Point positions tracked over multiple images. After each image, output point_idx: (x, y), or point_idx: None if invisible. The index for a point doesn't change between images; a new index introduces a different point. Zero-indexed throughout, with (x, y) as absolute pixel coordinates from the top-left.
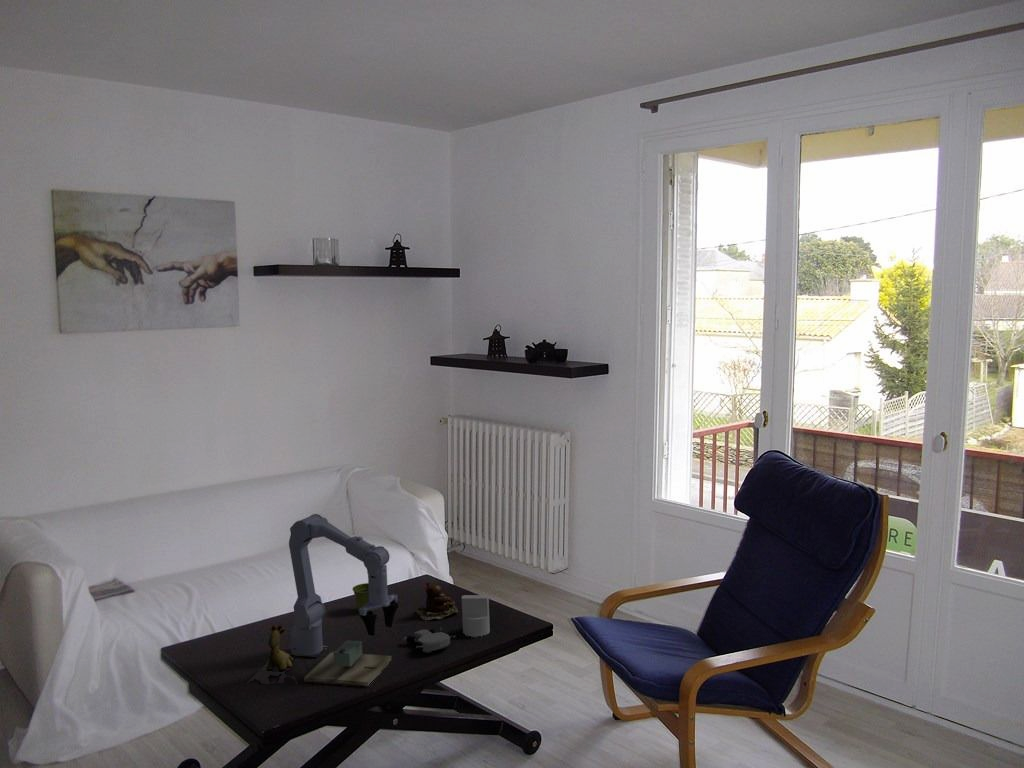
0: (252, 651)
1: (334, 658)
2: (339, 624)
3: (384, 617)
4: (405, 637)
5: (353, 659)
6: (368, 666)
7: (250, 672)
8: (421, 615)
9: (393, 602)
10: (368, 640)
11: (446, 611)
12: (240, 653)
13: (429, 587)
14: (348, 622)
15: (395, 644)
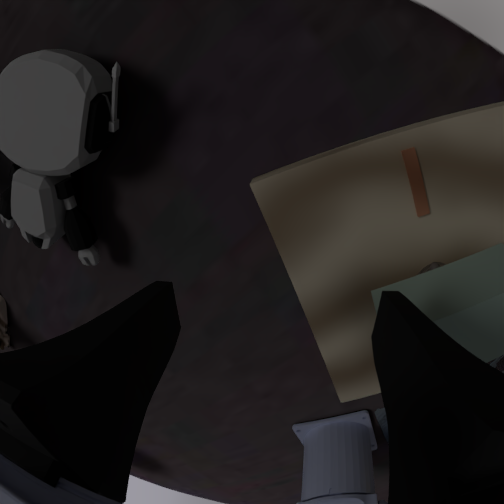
0: (374, 481)
1: None
2: (171, 451)
3: (155, 387)
4: (86, 261)
5: (475, 264)
6: (413, 199)
7: None
8: (3, 322)
9: (3, 439)
10: (176, 371)
11: None
12: (387, 484)
13: None
14: (150, 442)
15: (130, 278)
